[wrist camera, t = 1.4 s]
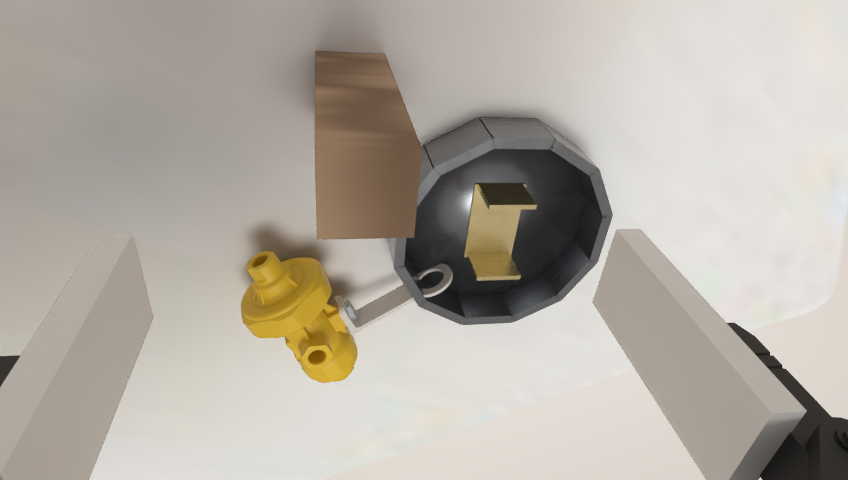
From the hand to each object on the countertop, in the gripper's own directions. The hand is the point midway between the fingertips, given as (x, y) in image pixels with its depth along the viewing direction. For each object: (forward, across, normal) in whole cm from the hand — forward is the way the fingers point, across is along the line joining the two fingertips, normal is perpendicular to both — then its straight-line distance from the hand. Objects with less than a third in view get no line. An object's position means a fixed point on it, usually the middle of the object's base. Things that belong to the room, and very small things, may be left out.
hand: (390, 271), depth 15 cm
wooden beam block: (+16, 0, 0) cm, 16 cm away
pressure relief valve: (+16, 0, -12) cm, 20 cm away
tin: (+16, +8, -8) cm, 20 cm away
